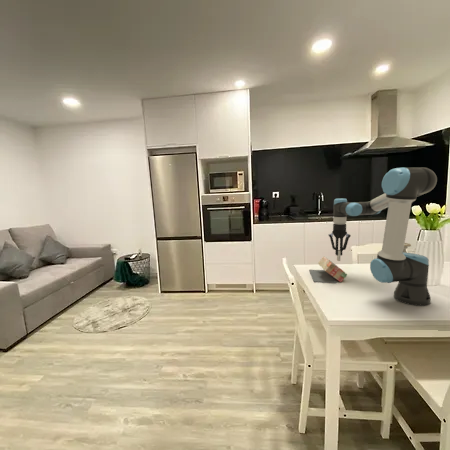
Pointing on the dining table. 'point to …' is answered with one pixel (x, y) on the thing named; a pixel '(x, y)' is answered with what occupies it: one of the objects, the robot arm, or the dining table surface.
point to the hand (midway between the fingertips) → (338, 260)
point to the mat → (322, 276)
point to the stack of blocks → (332, 269)
